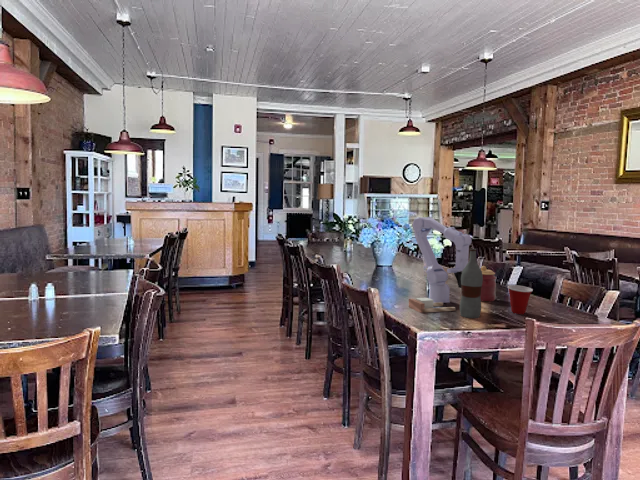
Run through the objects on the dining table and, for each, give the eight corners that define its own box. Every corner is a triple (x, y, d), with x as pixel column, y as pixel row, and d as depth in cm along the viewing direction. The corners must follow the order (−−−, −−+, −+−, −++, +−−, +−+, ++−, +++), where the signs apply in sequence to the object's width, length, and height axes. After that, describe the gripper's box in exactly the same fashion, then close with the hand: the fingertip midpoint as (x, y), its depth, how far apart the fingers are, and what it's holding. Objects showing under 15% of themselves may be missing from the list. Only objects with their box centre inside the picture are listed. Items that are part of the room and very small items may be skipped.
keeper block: (426, 307, 224) (426, 297, 224) (433, 310, 219) (433, 300, 218) (415, 308, 222) (415, 298, 222) (421, 311, 217) (422, 300, 216)
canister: (479, 302, 238) (481, 267, 236) (464, 297, 250) (465, 264, 249) (500, 301, 242) (502, 267, 241) (484, 296, 254) (486, 263, 253)
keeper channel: (441, 305, 230) (442, 297, 229) (454, 310, 219) (455, 302, 219) (408, 307, 225) (408, 298, 224) (420, 312, 214) (420, 303, 213)
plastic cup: (520, 316, 210) (521, 290, 209) (500, 311, 219) (502, 286, 218) (536, 314, 215) (538, 288, 214) (517, 309, 224) (518, 284, 223)
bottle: (485, 316, 209) (488, 249, 206) (474, 319, 203) (477, 250, 200) (466, 312, 216) (469, 247, 213) (455, 315, 210) (458, 248, 207)
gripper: (453, 260, 219) (452, 289, 221) (480, 260, 224) (478, 288, 225) (445, 258, 226) (444, 286, 227) (471, 258, 230) (469, 285, 232)
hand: (460, 287), depth 227 cm, fingers closed
